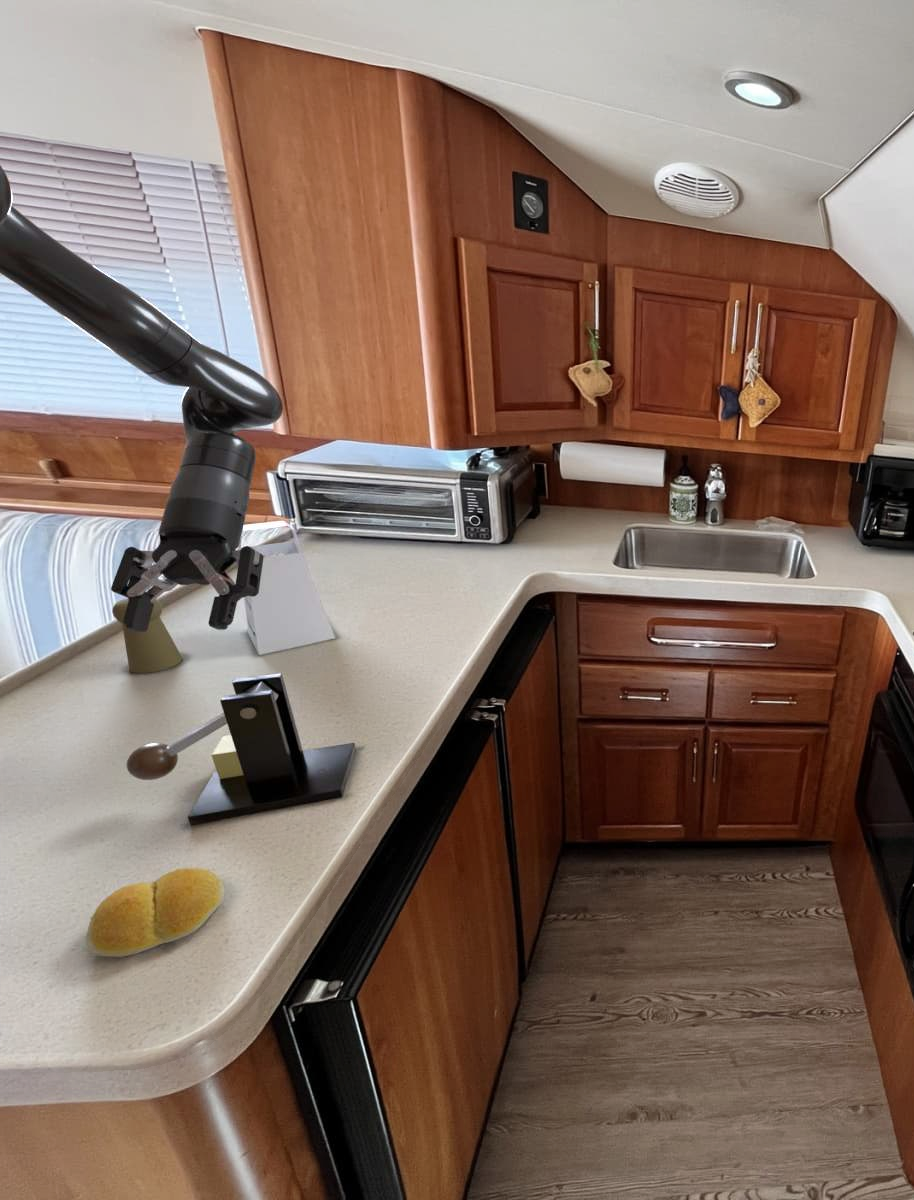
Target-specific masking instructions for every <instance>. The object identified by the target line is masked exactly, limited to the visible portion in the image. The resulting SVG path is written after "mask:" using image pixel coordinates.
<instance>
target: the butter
mask: <svg viewBox="0 0 914 1200" xmlns="http://www.w3.org/2000/svg"><path fill="white" fill-rule="evenodd" d="M211 758H212V759H211V760H212V761H213V764H214V768H215V770H216V771H217V774H218V777H219V779H223V778H229V777H235V776H241V775H243V771H242V768H241V765H240V762H239V759H238V756H237V752H236V749H235V746H234V743H233V740H232V737H231V734H230V735H224V736H222V737H221V738H220V740H219V741H218V743H217V745H216V747H215V748H214V750H213V751H212V753H211Z"/></svg>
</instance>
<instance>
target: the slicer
mask: <svg viewBox="0 0 914 1200" xmlns="http://www.w3.org/2000/svg"><path fill="white" fill-rule="evenodd" d="M260 682H263V683H264V684H265V685H267V686H268V687H269V688H270V689H272V690H269V691H261V692H253V693H244V694H241V693H243V692H245V691H246V690H248V689H250V688H251V687H253V686H255V685H257V684H258V683H260ZM231 684H232V688H233V690H234V694H228V695H222V697H221V698H220V700H219V702H220V706H221V708H222V711H223V713H224V715H225V718H226V721H227V724H226V725H227V728H228V730H229V733H230V735H231V737H232V740H233V743H234V746H235V749H236V752H237V756H238V759H239V762H240V765H241V768H242V771H243V775H241V776H235V777H229V778H223V779H219V777H218V774H217V771H216V769H214V771H213V773H212V775H211V776H210V778H209V780H208V781H207V783H206V785H205V787H204V788H203V790H202V792H201V793H200V795H199V797H198V799H197V801H196V802H195V804H194V806H192V809H191V810H190V812H189V813H188V816H187V820H188V823H189V825H190V826H197V825H202V824H207V823H212V822H217V821H224V820H229V819H235V818H239V817H244V816H251V815H255V814H256V815H257V814H261V813H266V812H267V813H268V812H271V811H277V810H282V809H288V808H293V807H299V806H305V805H310V804H315V803H321V802H326V801H332V800H336V799H341V798H343V796H344V793H345V790H346V786H347V783H348V779H349V775H350V772H351V769H352V765H353V761H354V758H355V755H356V752H357V748H356V743H355V742H350V743H344V744H337V745H330V746H323V747H317V748H311V749H305V750H303V747H302V742H301V739H300V736H299V735H300V734H299V732H298V728H297V725H296V724H297V723H296V721H295V720H296V719H295V717H294V713H293V709H292V705H291V703H290V697H289V694H288V691H287V687H286V684H285V680H284V676H283V673H272V674H263V675H255V676H247V677H246V676H245V677H235V678H234V680H233V681H232V682H231ZM273 691H274V692H275V693H277V694H278V695H279V696H278V697H277V699H276V701H275V697H274V693H273Z"/></svg>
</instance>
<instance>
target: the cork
mask: <svg viewBox="0 0 914 1200" xmlns="http://www.w3.org/2000/svg"><path fill="white" fill-rule="evenodd" d="M128 601H129V599H128V598H127V597H126V598H123V599H121V600H119V601H117V602H116V603H114V604H113V607H112V608H111V609H112V615H113V617H114V619H115V620H116V621H117V622H119V623H121V626H122V632H123V638H124V645H125V652H126V657H127V663H128V670H129V671H130V672H131V673H135V674H149V673H154V672H160V671H165V670H167V669H171V668H173V667H175V666H178V665H179V664H180V663H181V662H182V661H183V659H184V658H183V656H182V654H181V652H180V650H179V649H178V647H177V645H176V643H175V641H174V640H173V638H172V636H171V634H170V633H169V630H168V629H167V627H166V625H165V624H164V622H163V620H162V618H161V615H162V613H163V606H162V604H161V603H160V601H159V600H158V599H155V600H154V601H153V602H152V603H153V604H154V607H153V611H152V614H151V618H150V622H149V625H148V629H147V631H145V632H136V631H133V630H131V629H128V628H127V627H126V624H124V621H123V619H124V616H125V612H126V608H127V605H128Z"/></svg>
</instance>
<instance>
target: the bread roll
mask: <svg viewBox="0 0 914 1200" xmlns="http://www.w3.org/2000/svg"><path fill="white" fill-rule="evenodd" d="M224 898H225V887H224V883H223V880H222V879H221V878H220V877H219V876H218V875H217V874H216V873H214V872H213V871H211V870H209V869H206V868H199V867H195V868H194V867H189V868H177V869H176V870H173V871H170V872H168V873H165V874H163V875H161V876H160V877H159V878H157V879H156V880H155V881H154V882H153V881H152V882H148V881H147V882H146V881H145V882H137V883H132V884H129V885H126V886H122V887H121V888H118V889H117V890H114V892H112V893H111V894H110V895H108V896H106V897H105V898H104V899H103V900H102V901H101V902H100V904H99V905H98V907H96V909H95V911H94V913H93V915H92V916H90V918H89V919H90V921H89V924H88V928H87V931H86V937H85V938H86V940H85V946H86V948H87V951H88V953H89V954H91V955H94V956H99V957H112V958H115V957H117V958H118V957H121V958H122V957H128V956H133V955H137V954H139V953H143V952H145V951H148V950H150V949H152V948H156V947H157V946H159V945H162V944H168V943H171V942H174V941H177V940H180V939H183V938H184V937H186V936H188V935H189V936H190V935H191V934H192V933H194V932H195V931H197V930H198V929H199V928H200V927H202V926H203V925H204V924H205V923H206V921H207V920H208V919H209V918H210V917H211V916H212V914H213V913H214V912H215V911H216V910H217V909H218V908H219V907H220V905H221V904H223V901H224Z"/></svg>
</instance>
